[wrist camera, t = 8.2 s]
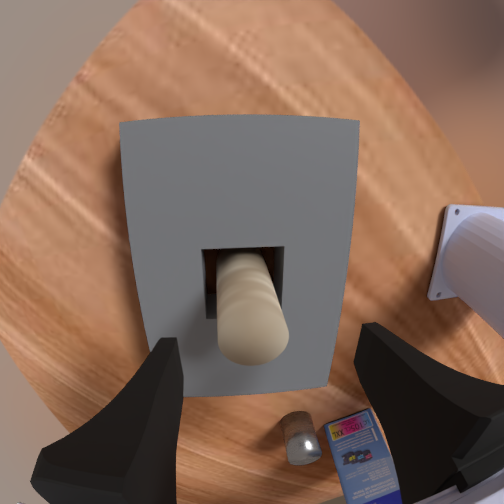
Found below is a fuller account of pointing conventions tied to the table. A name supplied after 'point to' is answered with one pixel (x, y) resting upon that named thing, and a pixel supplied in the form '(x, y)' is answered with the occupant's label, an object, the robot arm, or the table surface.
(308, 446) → the short steel pin
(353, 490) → the ink cartridge box
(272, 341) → the birch pin
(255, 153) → the hole plate
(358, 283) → the table surface
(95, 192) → the table surface
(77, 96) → the table surface
